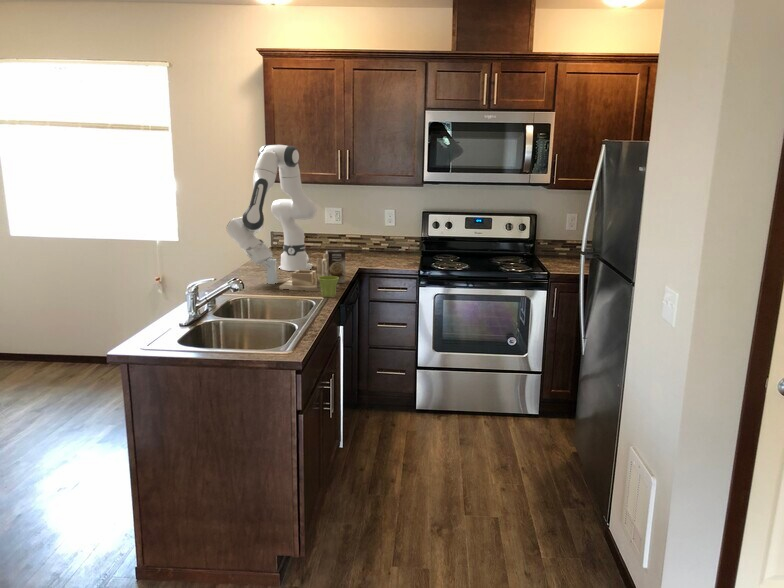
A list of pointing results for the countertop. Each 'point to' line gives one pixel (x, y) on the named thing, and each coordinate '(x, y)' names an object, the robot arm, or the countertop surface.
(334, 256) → the coffee box
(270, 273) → the block
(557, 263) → the countertop surface
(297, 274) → the caddy
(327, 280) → the plant pot
